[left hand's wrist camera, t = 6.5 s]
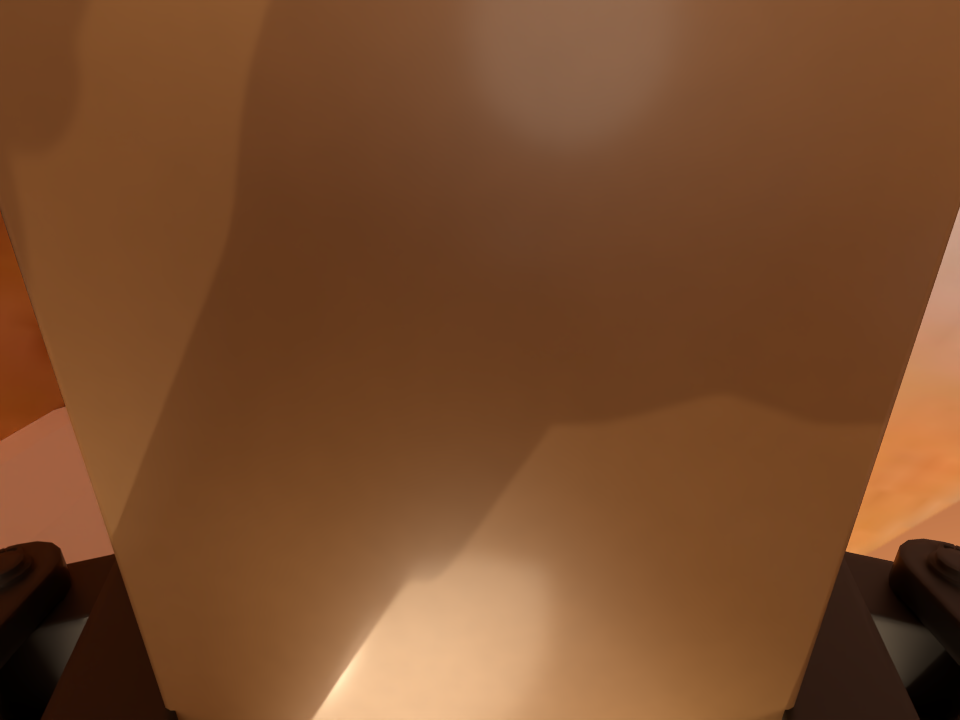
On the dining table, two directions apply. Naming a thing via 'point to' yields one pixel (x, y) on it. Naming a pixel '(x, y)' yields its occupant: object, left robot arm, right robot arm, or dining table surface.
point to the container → (49, 491)
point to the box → (479, 332)
